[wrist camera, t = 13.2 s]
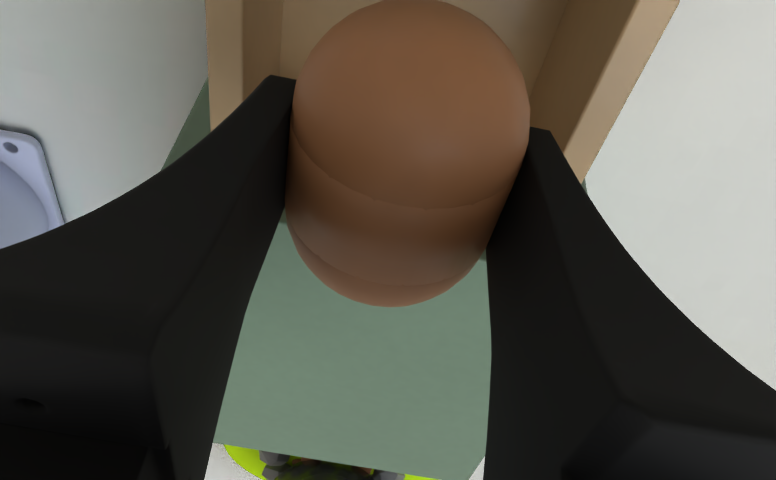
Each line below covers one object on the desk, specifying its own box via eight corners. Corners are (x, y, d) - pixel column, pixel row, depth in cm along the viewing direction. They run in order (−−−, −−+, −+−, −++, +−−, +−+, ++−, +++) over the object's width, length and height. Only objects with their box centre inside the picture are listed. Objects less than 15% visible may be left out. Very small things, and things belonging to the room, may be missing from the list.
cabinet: (227, 35, 21) (145, 198, 16) (573, 106, 22) (603, 283, 16) (231, 288, 31) (182, 438, 26) (467, 331, 32) (465, 484, 26)
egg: (466, 218, 16) (464, 364, 13) (299, 186, 16) (259, 328, 13) (557, -20, 11) (582, 125, 9) (322, -70, 11) (270, 62, 8)
